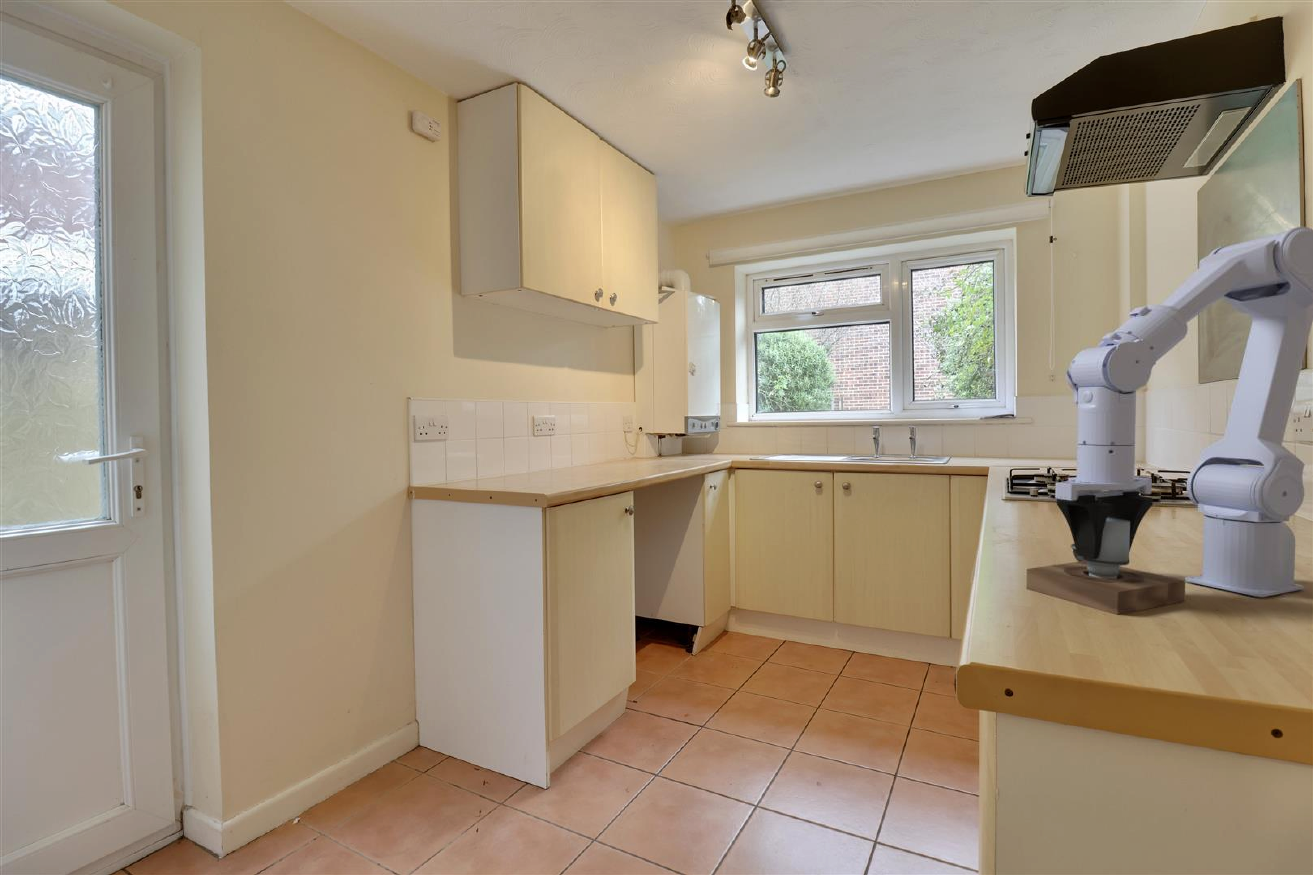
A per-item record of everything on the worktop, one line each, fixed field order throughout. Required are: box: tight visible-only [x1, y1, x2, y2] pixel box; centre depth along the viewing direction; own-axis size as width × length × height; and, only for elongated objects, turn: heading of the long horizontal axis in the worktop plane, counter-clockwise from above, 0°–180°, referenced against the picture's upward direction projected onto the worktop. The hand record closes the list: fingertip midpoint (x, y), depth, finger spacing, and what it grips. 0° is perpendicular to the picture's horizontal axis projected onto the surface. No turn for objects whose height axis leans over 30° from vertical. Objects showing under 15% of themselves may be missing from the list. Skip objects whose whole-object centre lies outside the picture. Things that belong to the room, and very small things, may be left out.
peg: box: [1078, 517, 1130, 579], centre depth 76 cm, size 5×5×7 cm
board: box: [1026, 561, 1186, 615], centre depth 76 cm, size 12×11×2 cm
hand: (1103, 555), depth 76 cm, fingers closed on peg, 5 cm apart
